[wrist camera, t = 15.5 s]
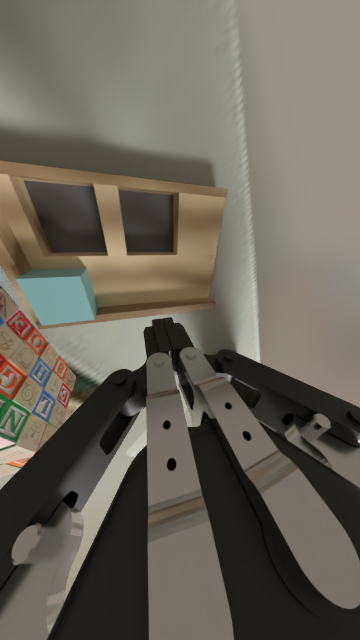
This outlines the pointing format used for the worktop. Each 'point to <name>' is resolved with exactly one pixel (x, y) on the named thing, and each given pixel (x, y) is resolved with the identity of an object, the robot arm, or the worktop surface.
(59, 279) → the block
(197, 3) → the worktop surface
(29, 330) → the stack of blocks
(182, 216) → the board
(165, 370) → the robot arm
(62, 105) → the worktop surface
